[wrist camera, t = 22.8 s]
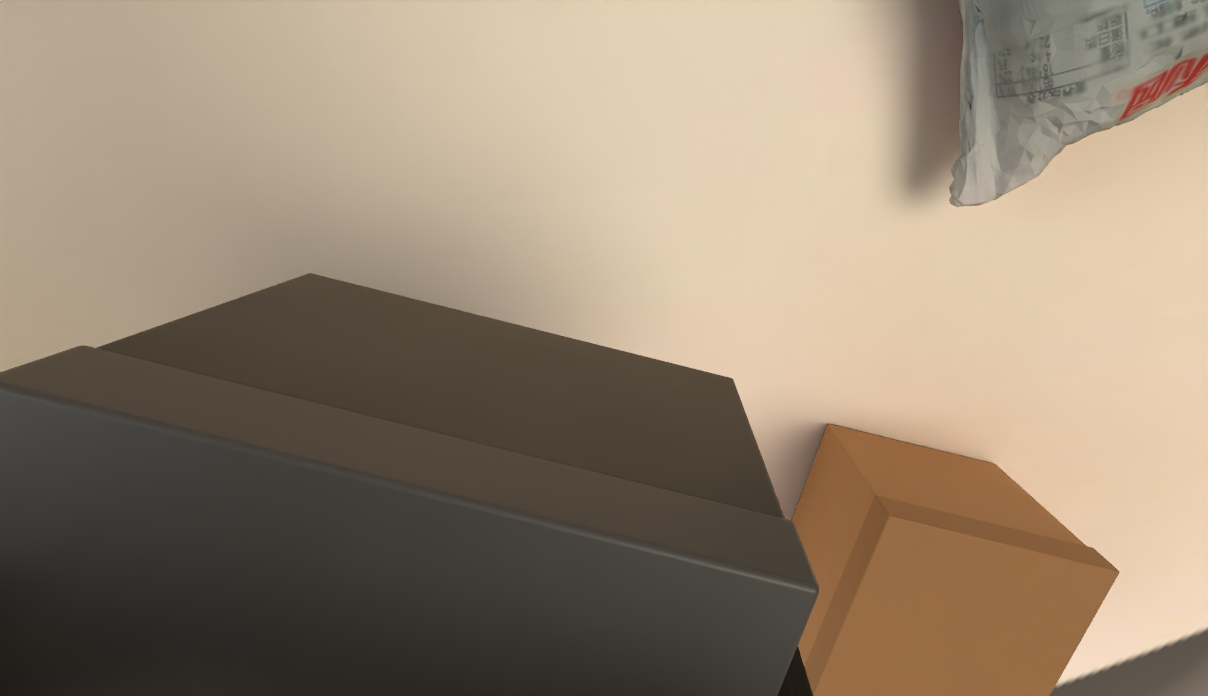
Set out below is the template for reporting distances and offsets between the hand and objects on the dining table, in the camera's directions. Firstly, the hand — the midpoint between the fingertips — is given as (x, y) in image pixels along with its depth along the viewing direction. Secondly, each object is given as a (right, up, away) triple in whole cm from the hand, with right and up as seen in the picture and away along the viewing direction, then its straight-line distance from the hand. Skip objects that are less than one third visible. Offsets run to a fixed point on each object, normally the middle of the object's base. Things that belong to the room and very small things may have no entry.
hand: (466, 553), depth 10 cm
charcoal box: (0, 0, +1) cm, 1 cm away
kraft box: (+11, -2, +11) cm, 16 cm away
